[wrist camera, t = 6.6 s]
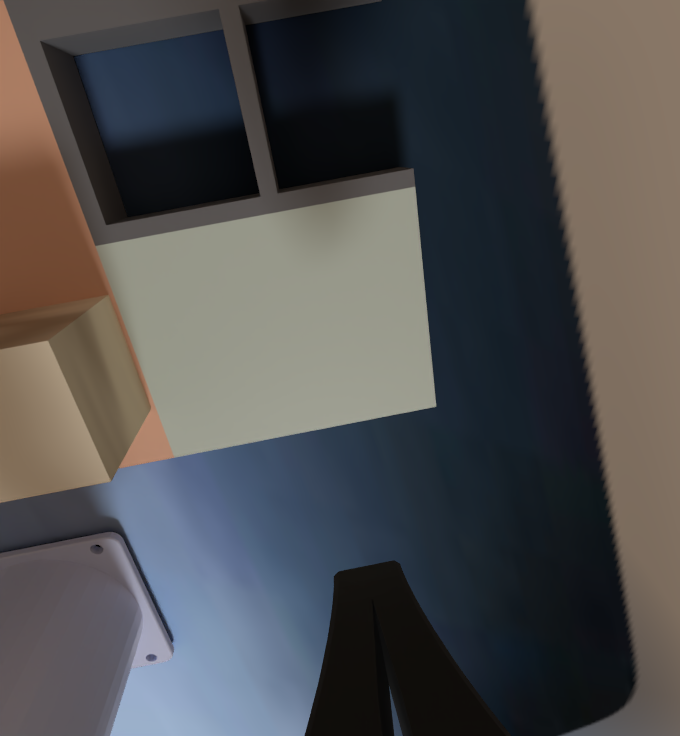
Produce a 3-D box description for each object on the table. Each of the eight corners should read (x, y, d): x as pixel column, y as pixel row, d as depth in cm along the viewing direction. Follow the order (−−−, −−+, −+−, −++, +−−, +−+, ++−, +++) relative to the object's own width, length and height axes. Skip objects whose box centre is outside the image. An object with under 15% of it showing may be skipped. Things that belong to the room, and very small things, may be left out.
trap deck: (59, 452, 19) (34, 484, 17) (-140, 49, 13) (-209, 31, 11) (422, 382, 19) (436, 406, 17) (377, -42, 13) (390, -74, 12)
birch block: (33, 430, 16) (-42, 510, 12) (-23, 318, 14) (-129, 373, 11) (151, 408, 16) (111, 481, 13) (108, 294, 15) (48, 340, 11)
